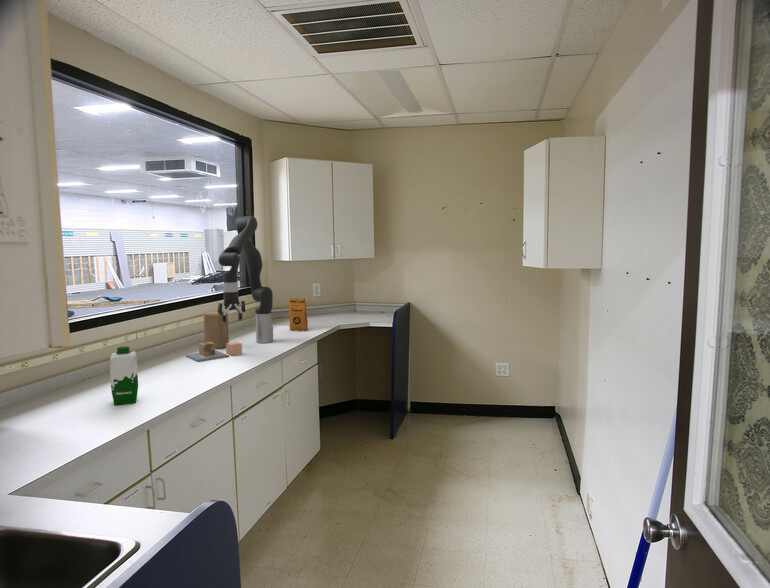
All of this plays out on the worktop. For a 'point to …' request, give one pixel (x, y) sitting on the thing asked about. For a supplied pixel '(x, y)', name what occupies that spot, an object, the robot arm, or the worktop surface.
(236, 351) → the terracotta cube
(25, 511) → the worktop surface
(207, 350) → the walnut cube
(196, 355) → the slate mat
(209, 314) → the wooden block
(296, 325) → the coffee package
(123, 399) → the milk carton
